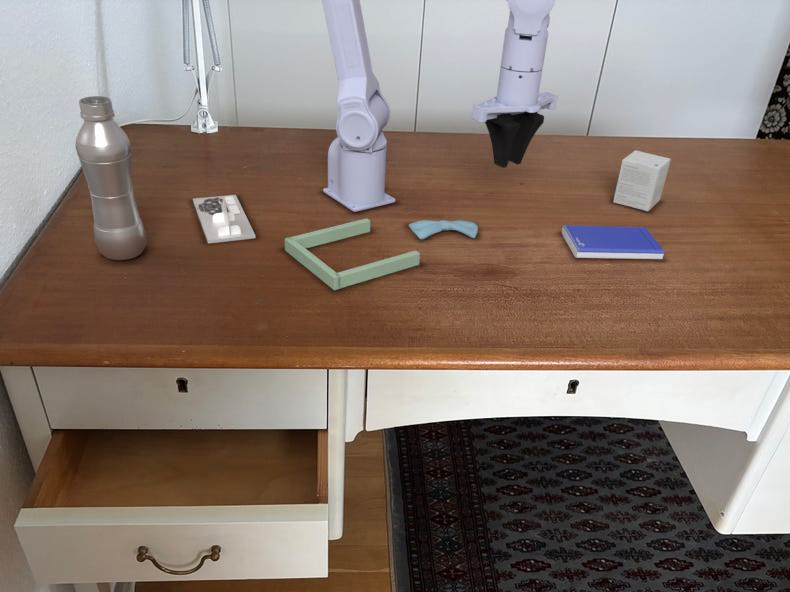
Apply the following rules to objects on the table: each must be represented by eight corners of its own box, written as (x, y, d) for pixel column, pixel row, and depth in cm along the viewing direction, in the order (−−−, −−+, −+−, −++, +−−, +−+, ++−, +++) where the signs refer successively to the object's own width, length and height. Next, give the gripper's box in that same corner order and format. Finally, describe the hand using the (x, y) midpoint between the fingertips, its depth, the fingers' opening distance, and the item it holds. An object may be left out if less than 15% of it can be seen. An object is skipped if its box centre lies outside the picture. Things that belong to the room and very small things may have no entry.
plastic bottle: (102, 270, 92) (70, 111, 80) (93, 248, 97) (61, 95, 85) (154, 261, 94) (129, 105, 83) (142, 240, 99) (117, 90, 88)
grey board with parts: (255, 238, 101) (253, 208, 99) (207, 243, 99) (204, 213, 97) (236, 197, 113) (233, 169, 110) (192, 201, 111) (189, 173, 108)
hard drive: (578, 249, 99) (665, 250, 100) (563, 223, 106) (644, 225, 107) (575, 259, 100) (662, 260, 101) (561, 233, 107) (642, 235, 108)
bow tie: (414, 230, 102) (407, 215, 106) (413, 240, 103) (407, 225, 107) (483, 228, 103) (474, 214, 107) (482, 238, 104) (472, 224, 108)
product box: (660, 201, 119) (672, 158, 114) (647, 212, 115) (660, 168, 110) (624, 191, 122) (635, 149, 117) (611, 202, 117) (621, 159, 113)
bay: (284, 250, 98) (284, 238, 97) (366, 229, 105) (366, 218, 104) (334, 290, 90) (334, 277, 89) (419, 265, 97) (420, 252, 96)
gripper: (502, 80, 92) (488, 181, 100) (579, 68, 99) (561, 163, 107) (466, 67, 97) (456, 165, 104) (543, 57, 104) (528, 149, 112)
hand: (507, 163), depth 106 cm, fingers closed
